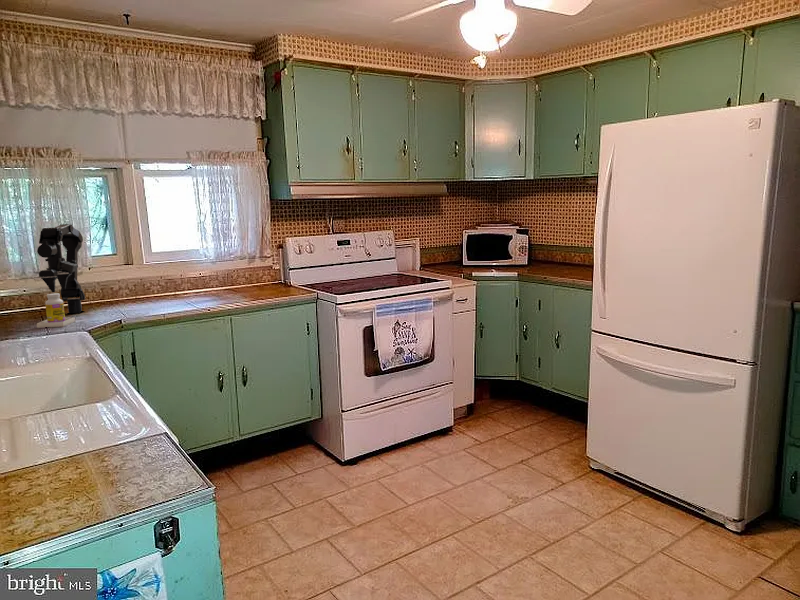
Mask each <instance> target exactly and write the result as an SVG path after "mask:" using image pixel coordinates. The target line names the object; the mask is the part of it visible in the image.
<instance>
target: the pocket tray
mask: <svg viewBox="0 0 800 600" xmlns="http://www.w3.org/2000/svg"><path fill="white" fill-rule="evenodd" d="M73 322H74V323H76V317H65V321H64V322H51V323H48V322H47V319H45V320H41V321H40V322H37V323H36V328H37V329H45V328H44V327H50V328H64V326H65V327H67V326H69V325H72V324H74V323H73ZM71 323H72V324H71ZM66 325H67V326H66Z"/></svg>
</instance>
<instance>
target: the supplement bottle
mask: <svg viewBox="0 0 800 600" xmlns="http://www.w3.org/2000/svg"><path fill="white" fill-rule="evenodd" d="M46 298H47V300H46V301H45V302H44V305H45V312H46V320H47V322H48V323H51V322H64V321H65V318H66V312H65V306H64V301H63V300H62V298H61V293H55V292H53V293H47V294H46Z"/></svg>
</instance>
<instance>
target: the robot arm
mask: <svg viewBox="0 0 800 600" xmlns="http://www.w3.org/2000/svg"><path fill="white" fill-rule="evenodd" d="M83 241H84V239H83V235H82V233H81V232H80V230H78V229H76V227H74V226H73V225H72V224H70V223H67V224H65V223H64V224H60V225H58V226H54V227H43V228H42V229H41V230H40V233H39V239H38V243H39V244H40V245H39V246H38V247H37V249H36V250H37V254H38V256H40V257H41V258H44V259H45V260H44V261H45V262H47V267H46V269H44V270H43V269H42V270H39V272H38V277H39V278H40V279H41V280H42V281H43V282H44V283H45V284H46V286H47V287H48V289H49V290H50V291H51V293H55V292H56V280H57V281H58V283H59V285H60V288H61V289H60V293H59V294H60V298H61V300H63V302H67V311H68V312H69V313H78V314H81V313H80V312H81V311H82V310H83V309H82V308H83V306H82V301H84V300H86V295H85V292H84V290H83V288H82V285H81V284H80V282H79V281H78V268H79V265H78V264H79V263H78V259H79V258H78V252H79V250H80V249H81V248H82V244H83ZM61 246H63V247H64V249H65V250H66V253H65V254H66V255H65V256H66V257H63V256H62V247H61Z"/></svg>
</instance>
